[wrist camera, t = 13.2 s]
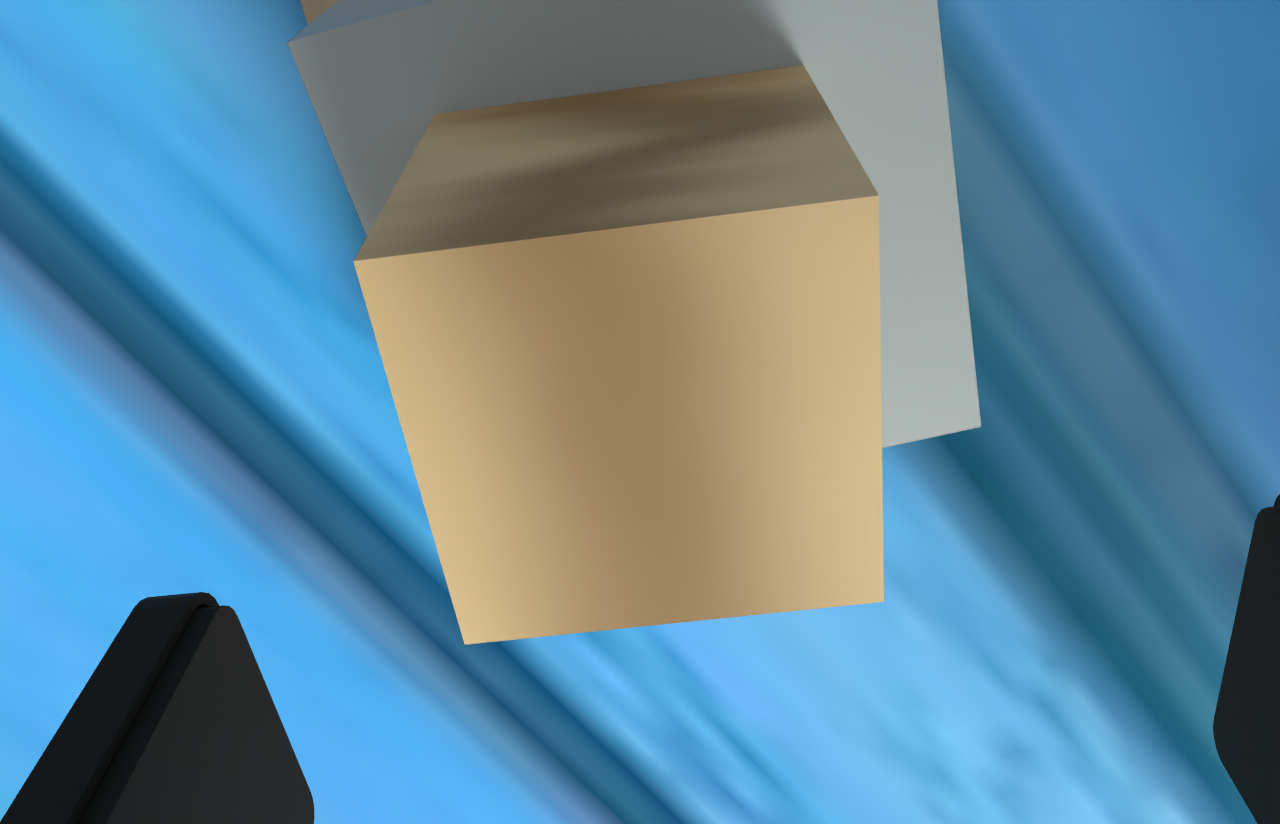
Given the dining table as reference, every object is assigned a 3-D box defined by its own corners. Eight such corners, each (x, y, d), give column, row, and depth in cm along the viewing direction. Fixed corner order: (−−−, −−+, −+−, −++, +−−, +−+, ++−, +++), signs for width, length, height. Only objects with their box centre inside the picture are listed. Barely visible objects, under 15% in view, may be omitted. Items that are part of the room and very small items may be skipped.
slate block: (868, -153, 19) (923, -136, 16) (930, 332, 24) (981, 426, 21) (344, -5, 20) (286, 42, 17) (507, 428, 25) (489, 532, 22)
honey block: (803, 64, 17) (878, 195, 12) (819, 387, 20) (884, 601, 15) (435, 114, 17) (353, 261, 12) (506, 423, 20) (464, 644, 15)
